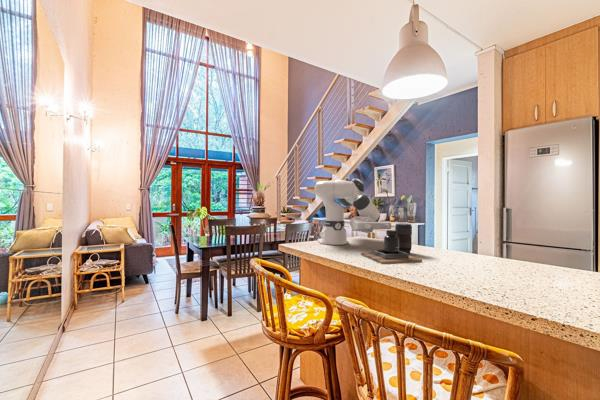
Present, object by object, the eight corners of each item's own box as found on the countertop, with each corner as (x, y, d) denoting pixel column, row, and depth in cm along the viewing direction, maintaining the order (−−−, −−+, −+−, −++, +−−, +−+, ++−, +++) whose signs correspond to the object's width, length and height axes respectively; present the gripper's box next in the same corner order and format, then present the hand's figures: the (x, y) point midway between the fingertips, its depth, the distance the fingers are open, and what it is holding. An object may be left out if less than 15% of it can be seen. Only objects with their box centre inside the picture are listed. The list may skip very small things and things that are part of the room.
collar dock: (360, 254, 140) (360, 248, 140) (396, 253, 145) (396, 247, 145) (381, 263, 120) (381, 256, 120) (422, 261, 125) (422, 255, 125)
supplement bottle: (400, 257, 129) (400, 231, 129) (384, 257, 130) (384, 231, 130) (397, 254, 136) (398, 229, 135) (383, 254, 137) (383, 229, 137)
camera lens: (391, 252, 148) (391, 223, 148) (403, 251, 151) (403, 223, 151) (403, 255, 140) (403, 224, 140) (415, 253, 144) (415, 224, 144)
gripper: (383, 230, 160) (397, 232, 146) (350, 230, 155) (361, 233, 141) (383, 219, 160) (397, 220, 147) (350, 219, 155) (361, 220, 141)
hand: (379, 226), depth 144 cm, fingers open, 8 cm apart
